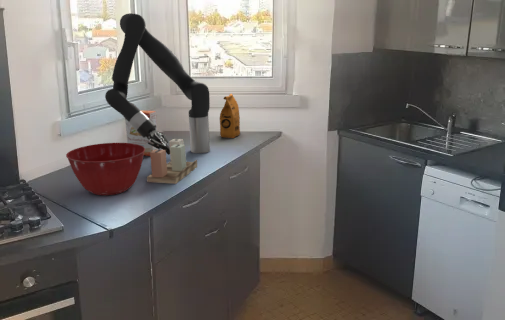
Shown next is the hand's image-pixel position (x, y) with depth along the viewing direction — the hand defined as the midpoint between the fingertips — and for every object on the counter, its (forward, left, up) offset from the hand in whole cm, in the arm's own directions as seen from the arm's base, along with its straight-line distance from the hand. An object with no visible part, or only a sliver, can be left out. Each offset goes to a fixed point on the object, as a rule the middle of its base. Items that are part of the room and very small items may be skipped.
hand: (170, 153), depth 221 cm
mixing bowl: (+25, -23, -7) cm, 35 cm away
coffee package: (-53, +30, -7) cm, 61 cm away
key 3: (+18, -4, -4) cm, 19 cm away
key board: (+10, +1, -6) cm, 12 cm away
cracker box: (-25, -14, -7) cm, 29 cm away
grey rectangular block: (+1, +3, -4) cm, 5 cm away
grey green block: (+11, +3, -4) cm, 12 cm away
